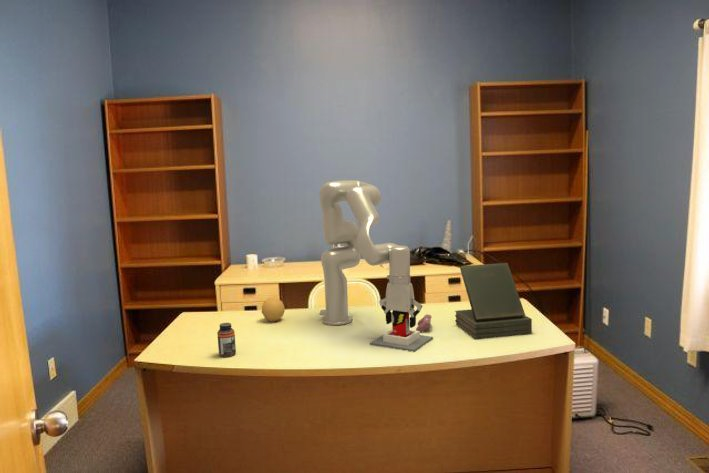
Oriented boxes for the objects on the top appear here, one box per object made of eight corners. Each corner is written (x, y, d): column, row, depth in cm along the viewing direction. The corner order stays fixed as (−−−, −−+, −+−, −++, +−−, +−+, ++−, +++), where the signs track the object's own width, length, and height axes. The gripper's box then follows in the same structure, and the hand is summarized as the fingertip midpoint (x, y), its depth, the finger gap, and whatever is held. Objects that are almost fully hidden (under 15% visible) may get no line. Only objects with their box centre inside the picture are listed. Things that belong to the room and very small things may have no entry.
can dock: (369, 344, 192) (369, 335, 191) (390, 332, 205) (390, 324, 204) (414, 352, 182) (414, 342, 181) (433, 338, 195) (432, 330, 195)
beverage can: (399, 335, 198) (398, 304, 196) (413, 338, 194) (412, 307, 192) (389, 340, 193) (388, 308, 192) (403, 343, 189) (402, 310, 188)
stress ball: (285, 324, 225) (291, 305, 232) (274, 311, 219) (280, 292, 226) (266, 326, 229) (271, 307, 236) (254, 313, 223) (261, 294, 229)
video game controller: (425, 336, 203) (433, 321, 202) (414, 331, 204) (422, 316, 202) (426, 329, 213) (434, 314, 211) (416, 324, 213) (424, 309, 212)
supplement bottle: (220, 352, 189) (218, 322, 188) (237, 351, 189) (235, 321, 188) (217, 358, 183) (215, 326, 182) (234, 357, 184) (232, 325, 182)
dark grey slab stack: (474, 340, 193) (473, 273, 190) (455, 325, 212) (454, 264, 209) (531, 335, 197) (532, 269, 194) (508, 320, 216) (508, 261, 213)
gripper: (374, 279, 192) (375, 324, 194) (416, 283, 183) (417, 331, 185) (384, 275, 198) (385, 319, 201) (425, 279, 189) (426, 325, 191)
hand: (400, 325), depth 193 cm, fingers open, 9 cm apart
